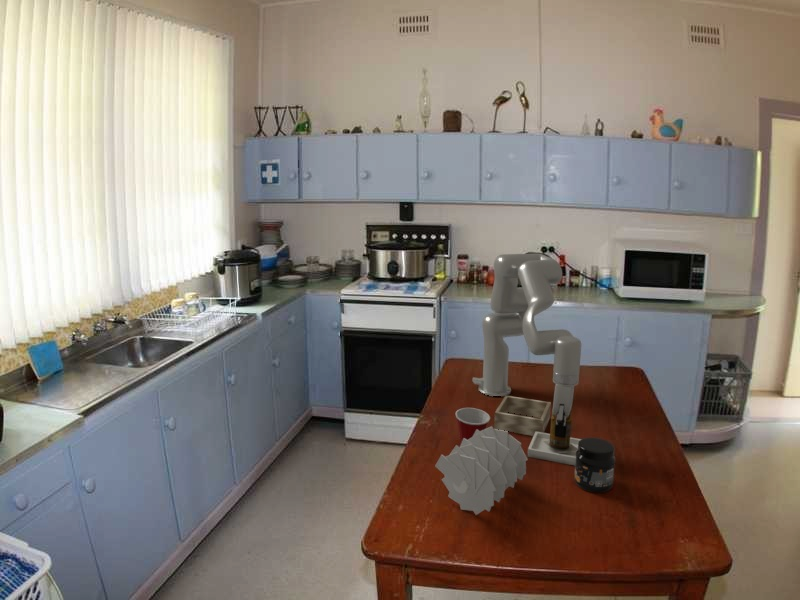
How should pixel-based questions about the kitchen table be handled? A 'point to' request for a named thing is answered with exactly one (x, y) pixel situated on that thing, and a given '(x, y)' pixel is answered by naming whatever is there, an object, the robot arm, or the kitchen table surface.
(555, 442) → the condiment
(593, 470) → the supplement container
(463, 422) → the plastic cup
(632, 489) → the kitchen table surface
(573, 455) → the tray
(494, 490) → the spiral staircase
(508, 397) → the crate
